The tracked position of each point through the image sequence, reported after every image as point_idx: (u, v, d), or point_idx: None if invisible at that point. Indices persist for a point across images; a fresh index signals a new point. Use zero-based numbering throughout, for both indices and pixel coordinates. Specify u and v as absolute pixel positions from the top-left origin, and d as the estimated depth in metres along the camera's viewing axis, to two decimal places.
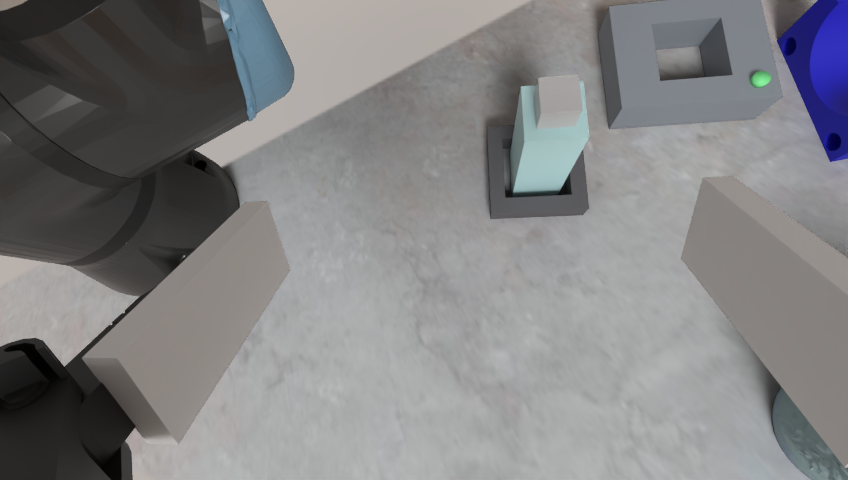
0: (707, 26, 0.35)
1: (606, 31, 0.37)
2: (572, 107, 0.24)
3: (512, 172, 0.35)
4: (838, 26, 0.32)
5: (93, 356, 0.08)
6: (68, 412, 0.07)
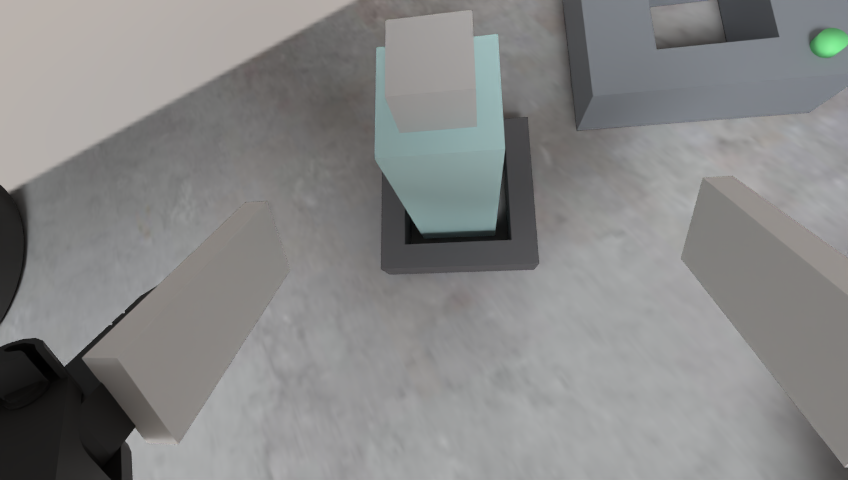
0: None
1: None
2: (454, 82, 0.11)
3: None
4: None
5: (93, 356, 0.08)
6: (68, 412, 0.07)
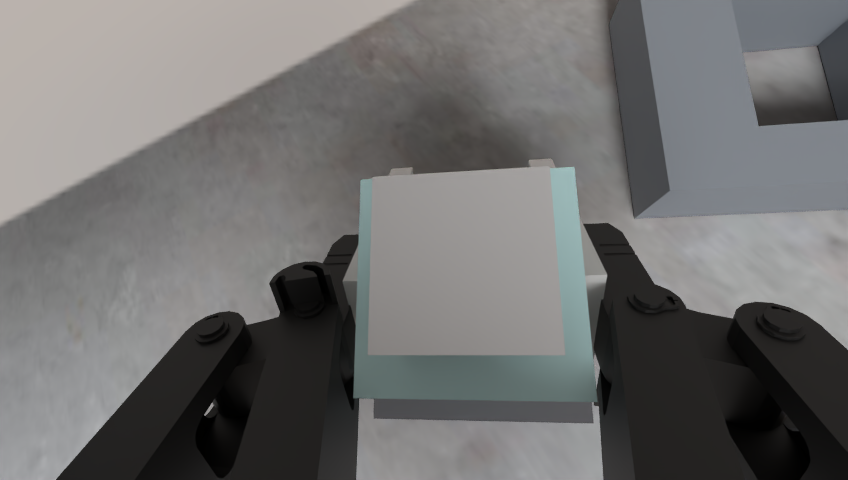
0: None
1: (628, 16, 0.18)
2: (517, 335, 0.05)
3: None
4: None
5: (352, 280, 0.09)
6: (335, 337, 0.08)
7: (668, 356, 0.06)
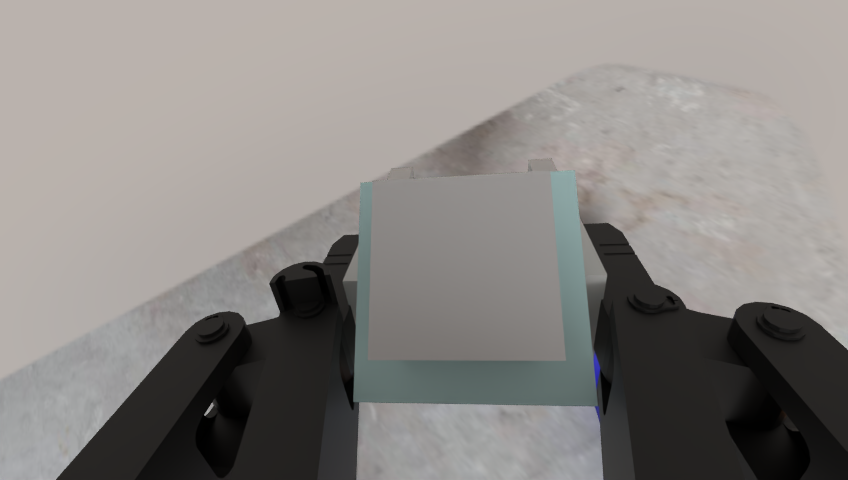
0: None
1: None
2: (518, 341, 0.05)
3: None
4: None
5: (352, 280, 0.09)
6: (335, 336, 0.08)
7: (668, 356, 0.06)
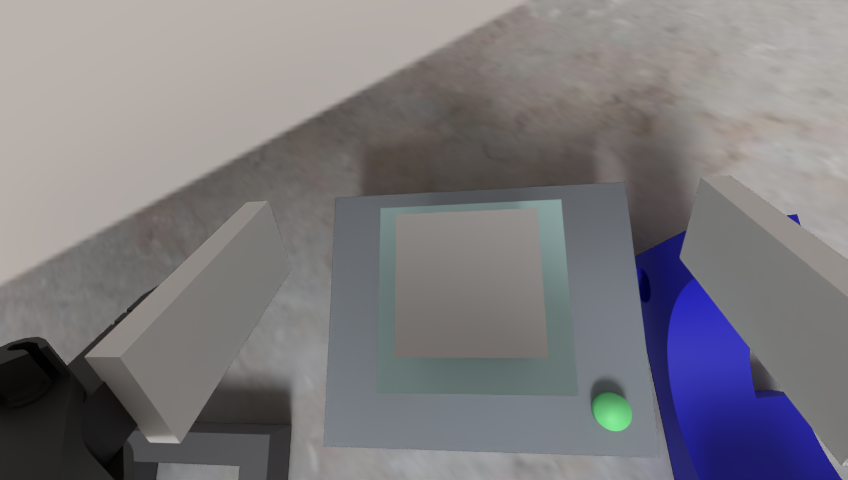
0: None
1: None
2: (511, 342, 0.06)
3: None
4: None
5: (96, 355, 0.08)
6: (71, 411, 0.07)
7: None
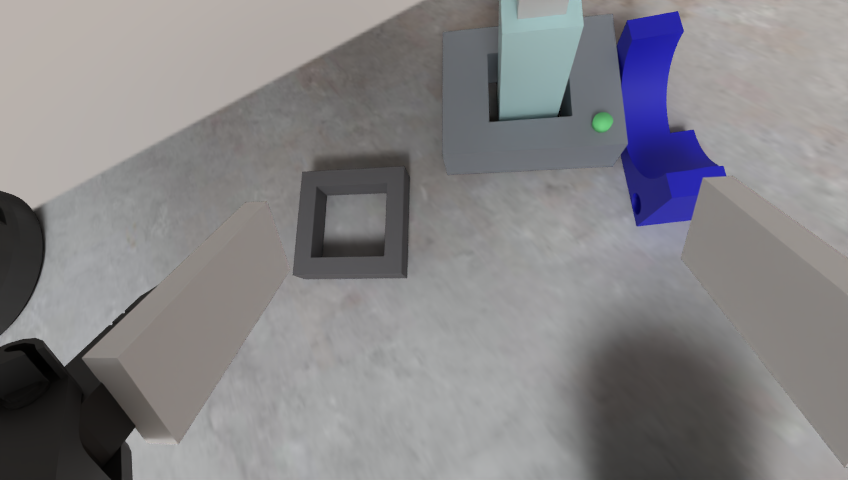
0: None
1: None
2: None
3: (498, 105, 0.30)
4: (646, 66, 0.27)
5: (93, 356, 0.08)
6: (68, 412, 0.07)
7: None
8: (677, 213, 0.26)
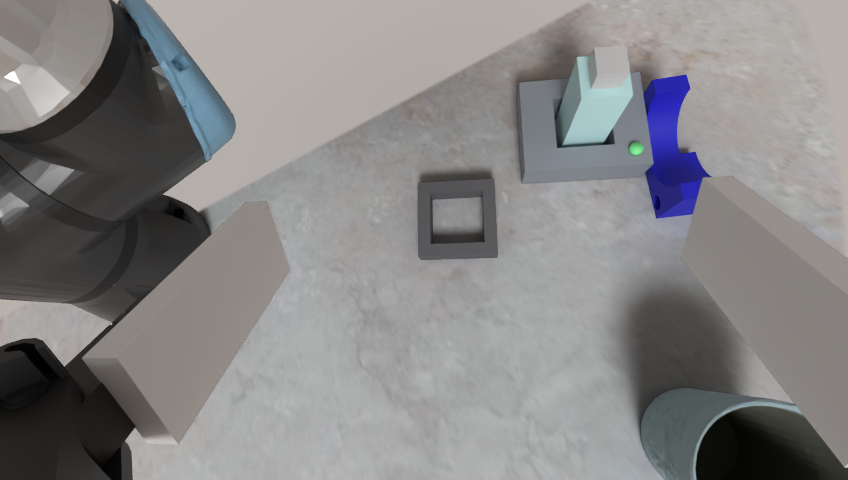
0: None
1: (518, 102, 0.43)
2: (622, 69, 0.31)
3: (559, 135, 0.42)
4: (664, 109, 0.40)
5: (93, 356, 0.08)
6: (68, 412, 0.07)
7: None
8: (685, 209, 0.38)
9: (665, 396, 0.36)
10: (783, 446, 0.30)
